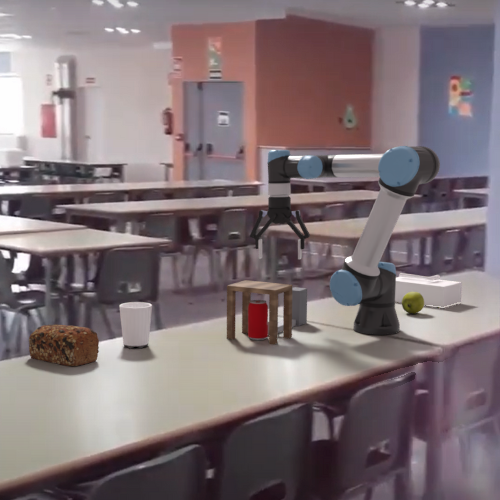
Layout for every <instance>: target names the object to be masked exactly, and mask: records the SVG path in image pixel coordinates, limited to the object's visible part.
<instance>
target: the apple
mask: <svg viewBox="0 0 500 500" xmlns="http://www.w3.org/2000/svg"><path fill="white" fill-rule="evenodd" d="M401 307H402V309H403V310H404V312H406V313H407V314H411V313H415V314H418V313H419V312H421V311H422V310H423V309H424V307H425V306H424V298H423V296H422V295H421V294H420V293H418V292H409V293H407V294H406V295H405V296H404V297H403V299H402V303H401Z"/></svg>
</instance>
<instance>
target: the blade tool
mask: <svg viewBox="0 0 500 500" xmlns="http://www.w3.org/2000/svg"><path fill="white" fill-rule="evenodd" d="M282 309H283V313H282V314H283V315H282V316H283V317H282V318H283V319H282V320H280V321H278V334H279V333H282V332H283V323H284V304H283V307H282ZM307 319H308V288H305V287H298V286H297V287H296V286H295V287H293V286H292V328H293V327H301V326H303V325H305V324H307V322H308V320H307ZM281 331H282V332H281ZM268 336H269V321H268Z"/></svg>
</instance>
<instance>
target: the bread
mask: <svg viewBox="0 0 500 500" xmlns="http://www.w3.org/2000/svg"><path fill="white" fill-rule="evenodd" d="M99 344H100V340H99V337H98V334H97V332H96V331H94V330H93V329H92V328H89V327H84V326H76V325H66V324H65V325H64V324H48V325H47V324H45V325H41V326H38V327H37V328H36V329H35V330H34V331H33V332H32V333H31V334H30V335H29V337H28V350H29V351H28V352H29V357H30V358H31V359H34V360H39V361H43V362H47V363H50V364H51V363H52V364H58V365H62V366H67V367H68V366H69V367H78V366H79V367H80V366H83V365H86V364H91V363H95V362H96V361H97V359H98V355H99V352H100V351H99V348H100V347H99Z"/></svg>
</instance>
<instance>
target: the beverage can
mask: <svg viewBox="0 0 500 500" xmlns="http://www.w3.org/2000/svg"><path fill="white" fill-rule="evenodd" d="M268 322H269V305H268V303H267V300H264V299H251V301H250V303H249V305H248V333H247V337H248V338H249V339H250V340H253V341H263V340H266V339H267V338H269V335H268Z"/></svg>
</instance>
